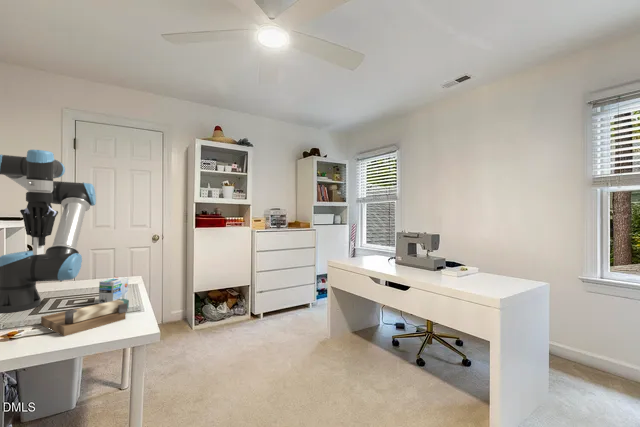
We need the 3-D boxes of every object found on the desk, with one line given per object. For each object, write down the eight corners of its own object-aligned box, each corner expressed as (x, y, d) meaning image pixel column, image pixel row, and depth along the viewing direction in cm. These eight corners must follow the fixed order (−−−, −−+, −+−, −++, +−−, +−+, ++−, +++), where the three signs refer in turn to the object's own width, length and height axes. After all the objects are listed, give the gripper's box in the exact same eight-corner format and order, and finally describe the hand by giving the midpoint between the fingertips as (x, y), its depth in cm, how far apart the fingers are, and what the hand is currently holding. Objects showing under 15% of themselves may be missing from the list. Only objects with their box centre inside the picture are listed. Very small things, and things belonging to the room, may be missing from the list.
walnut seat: (40, 324, 113) (41, 308, 113) (102, 310, 131) (103, 295, 131) (64, 336, 104) (65, 318, 104) (127, 318, 122) (127, 303, 122)
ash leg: (67, 324, 106) (68, 313, 106) (62, 322, 108) (63, 311, 108) (128, 308, 124) (128, 299, 124) (123, 307, 126) (123, 297, 126)
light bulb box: (112, 306, 136) (113, 282, 136) (97, 305, 136) (98, 281, 136) (128, 299, 146) (129, 277, 146) (114, 298, 147) (115, 276, 147)
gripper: (12, 190, 112) (11, 254, 113) (47, 192, 112) (45, 256, 112) (33, 191, 120) (31, 251, 120) (65, 192, 119) (63, 253, 120)
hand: (38, 254), depth 116 cm, fingers closed
